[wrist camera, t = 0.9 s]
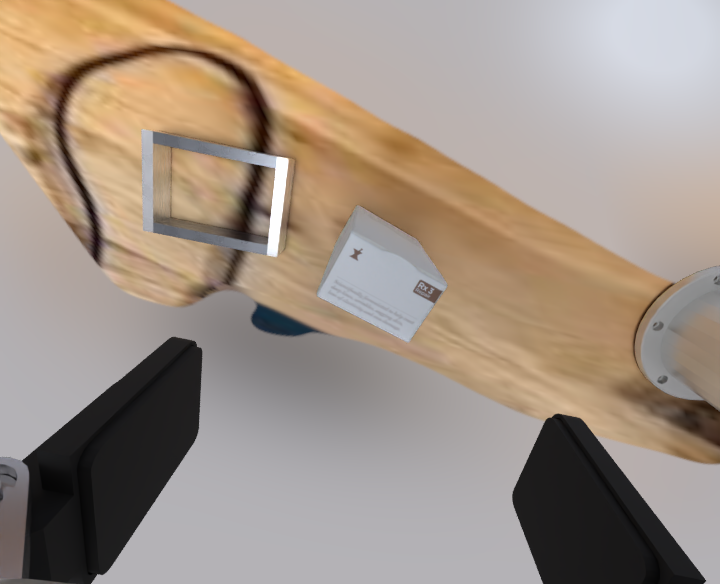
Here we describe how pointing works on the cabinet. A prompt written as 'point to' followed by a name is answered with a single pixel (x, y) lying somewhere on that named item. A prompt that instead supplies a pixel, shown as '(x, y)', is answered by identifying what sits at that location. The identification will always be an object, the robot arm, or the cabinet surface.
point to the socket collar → (159, 221)
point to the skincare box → (381, 275)
